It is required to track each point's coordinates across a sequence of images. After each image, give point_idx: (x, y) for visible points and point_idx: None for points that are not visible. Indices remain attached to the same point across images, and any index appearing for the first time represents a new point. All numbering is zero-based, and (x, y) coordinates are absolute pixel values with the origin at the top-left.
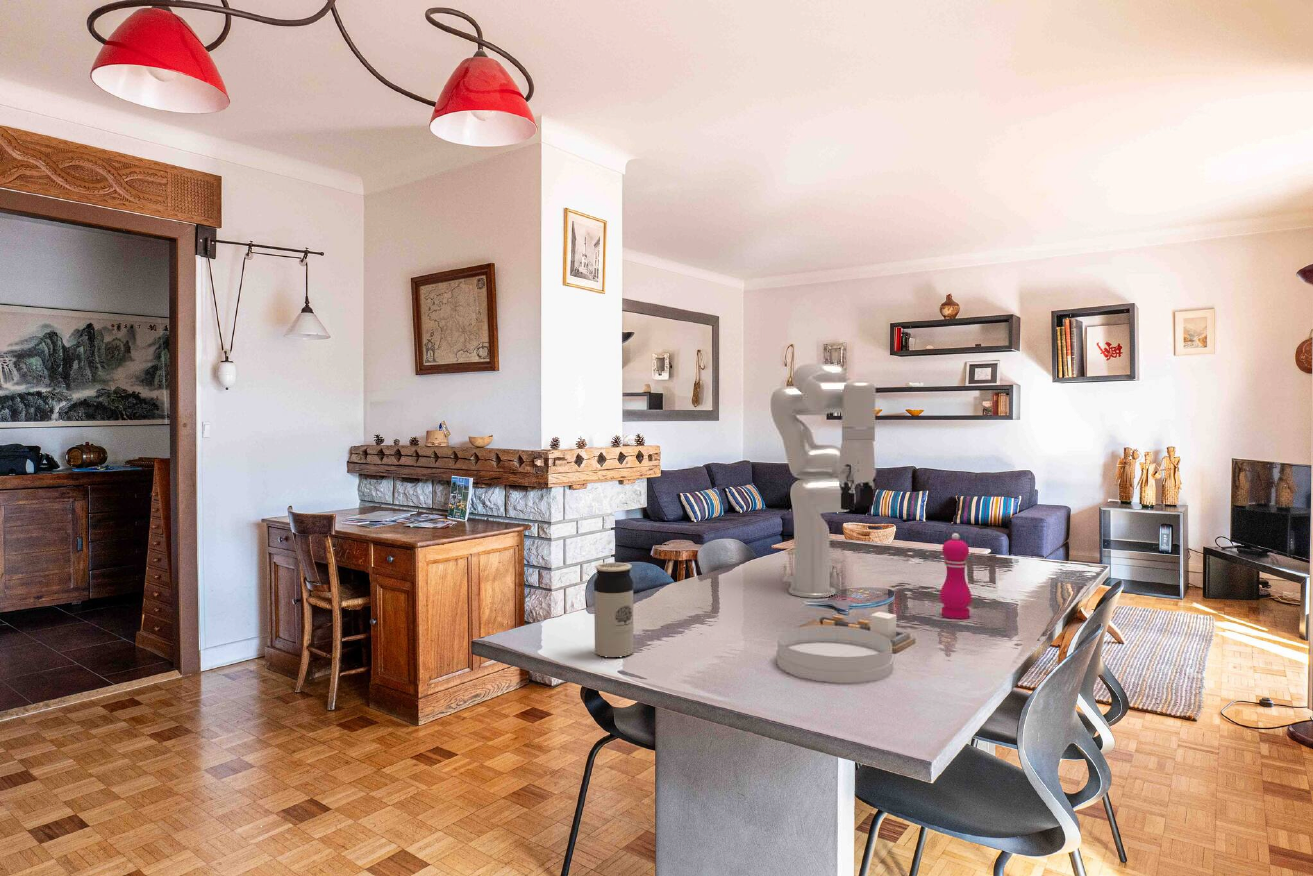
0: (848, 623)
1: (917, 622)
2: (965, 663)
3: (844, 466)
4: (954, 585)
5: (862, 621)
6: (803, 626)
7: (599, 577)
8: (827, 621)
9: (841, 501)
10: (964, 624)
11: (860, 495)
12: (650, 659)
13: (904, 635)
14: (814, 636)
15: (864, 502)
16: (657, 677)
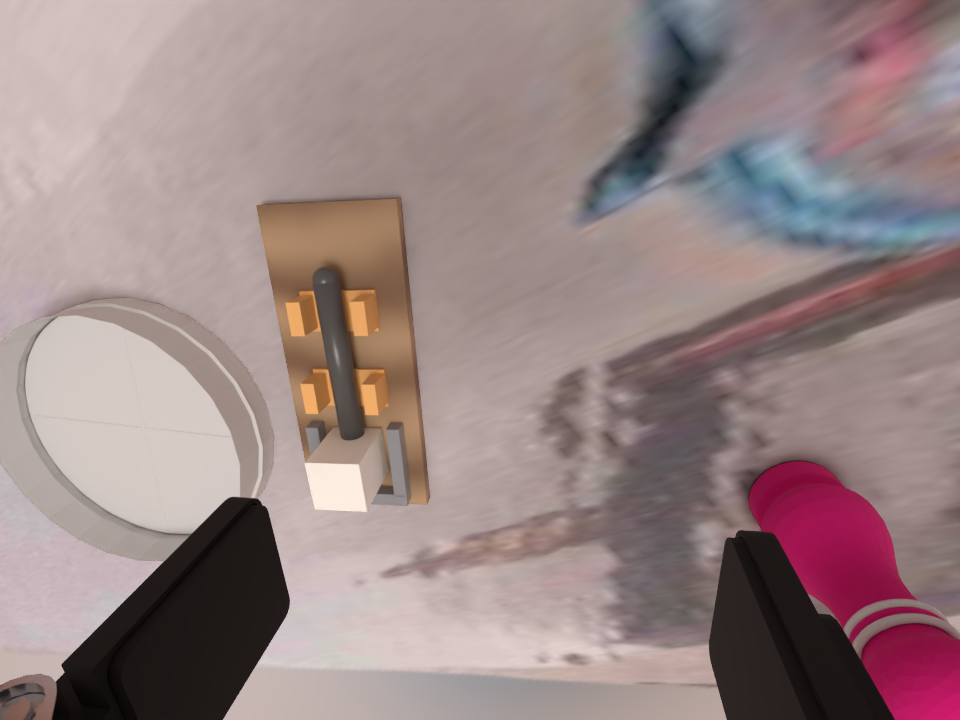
0: (329, 369)
1: (635, 436)
2: (364, 609)
3: None
4: (803, 578)
5: (363, 399)
6: (300, 218)
7: None
8: (288, 318)
9: (174, 559)
10: (694, 539)
11: (770, 640)
12: None
13: (376, 503)
14: (185, 341)
15: (727, 603)
16: None
